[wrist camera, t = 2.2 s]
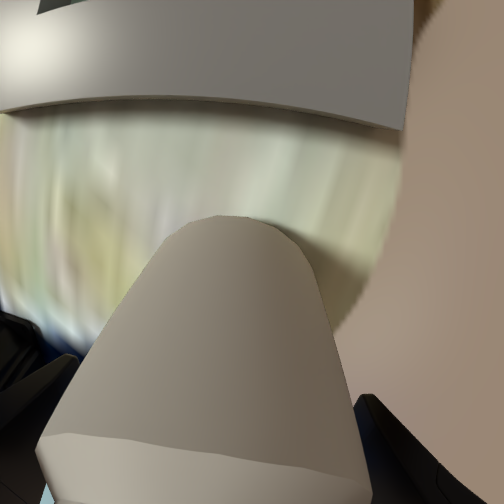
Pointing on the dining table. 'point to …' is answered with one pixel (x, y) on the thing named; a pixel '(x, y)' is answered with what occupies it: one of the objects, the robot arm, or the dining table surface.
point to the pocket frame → (212, 54)
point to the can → (211, 384)
